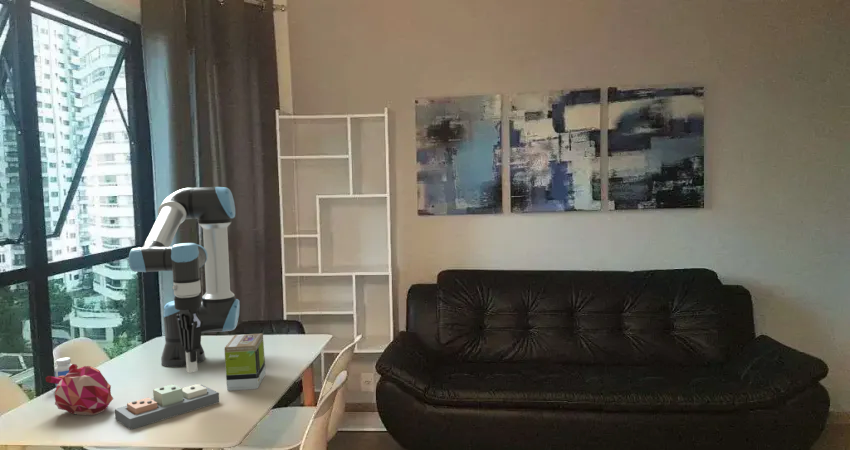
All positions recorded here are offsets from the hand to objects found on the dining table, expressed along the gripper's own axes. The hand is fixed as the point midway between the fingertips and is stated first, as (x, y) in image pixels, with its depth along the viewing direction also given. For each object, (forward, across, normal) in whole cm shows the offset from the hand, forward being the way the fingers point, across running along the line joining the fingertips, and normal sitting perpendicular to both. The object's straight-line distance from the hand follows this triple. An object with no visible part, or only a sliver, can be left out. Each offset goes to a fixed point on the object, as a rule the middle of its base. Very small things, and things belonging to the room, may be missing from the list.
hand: (192, 371), depth 183 cm
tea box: (+10, -3, +20) cm, 23 cm away
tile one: (+9, +1, 0) cm, 9 cm away
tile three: (+9, +1, -15) cm, 18 cm away
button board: (+10, +1, -8) cm, 13 cm away
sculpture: (+10, -19, -25) cm, 33 cm away
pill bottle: (+11, -45, -22) cm, 52 cm away
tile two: (+7, +1, -8) cm, 11 cm away
